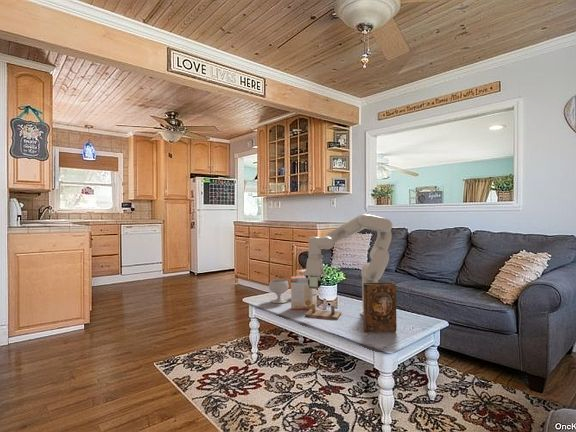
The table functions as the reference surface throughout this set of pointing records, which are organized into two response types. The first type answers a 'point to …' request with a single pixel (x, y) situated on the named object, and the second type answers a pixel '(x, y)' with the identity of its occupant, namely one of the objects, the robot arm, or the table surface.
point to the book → (379, 307)
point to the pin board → (323, 313)
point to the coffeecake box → (300, 273)
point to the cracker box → (301, 293)
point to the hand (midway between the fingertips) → (314, 286)
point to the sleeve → (314, 282)
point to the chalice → (278, 289)
